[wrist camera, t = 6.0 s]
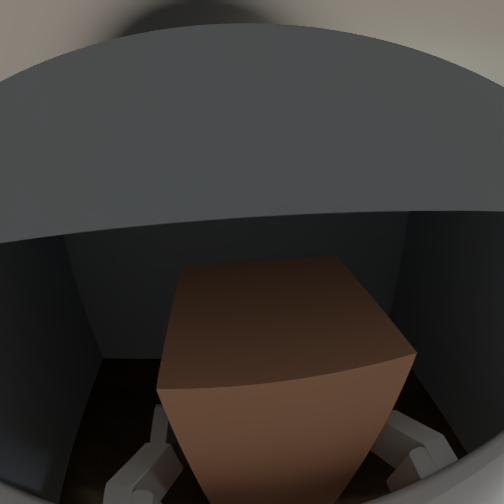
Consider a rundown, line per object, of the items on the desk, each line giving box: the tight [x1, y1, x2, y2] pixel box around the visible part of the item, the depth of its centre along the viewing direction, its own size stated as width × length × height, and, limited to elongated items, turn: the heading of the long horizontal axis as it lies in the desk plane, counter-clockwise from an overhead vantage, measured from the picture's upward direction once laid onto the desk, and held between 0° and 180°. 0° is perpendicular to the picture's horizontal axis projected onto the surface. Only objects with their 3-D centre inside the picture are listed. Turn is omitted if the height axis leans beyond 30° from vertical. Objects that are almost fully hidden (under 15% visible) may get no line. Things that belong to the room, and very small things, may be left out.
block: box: [156, 255, 417, 504], centre depth 8 cm, size 4×4×11 cm
